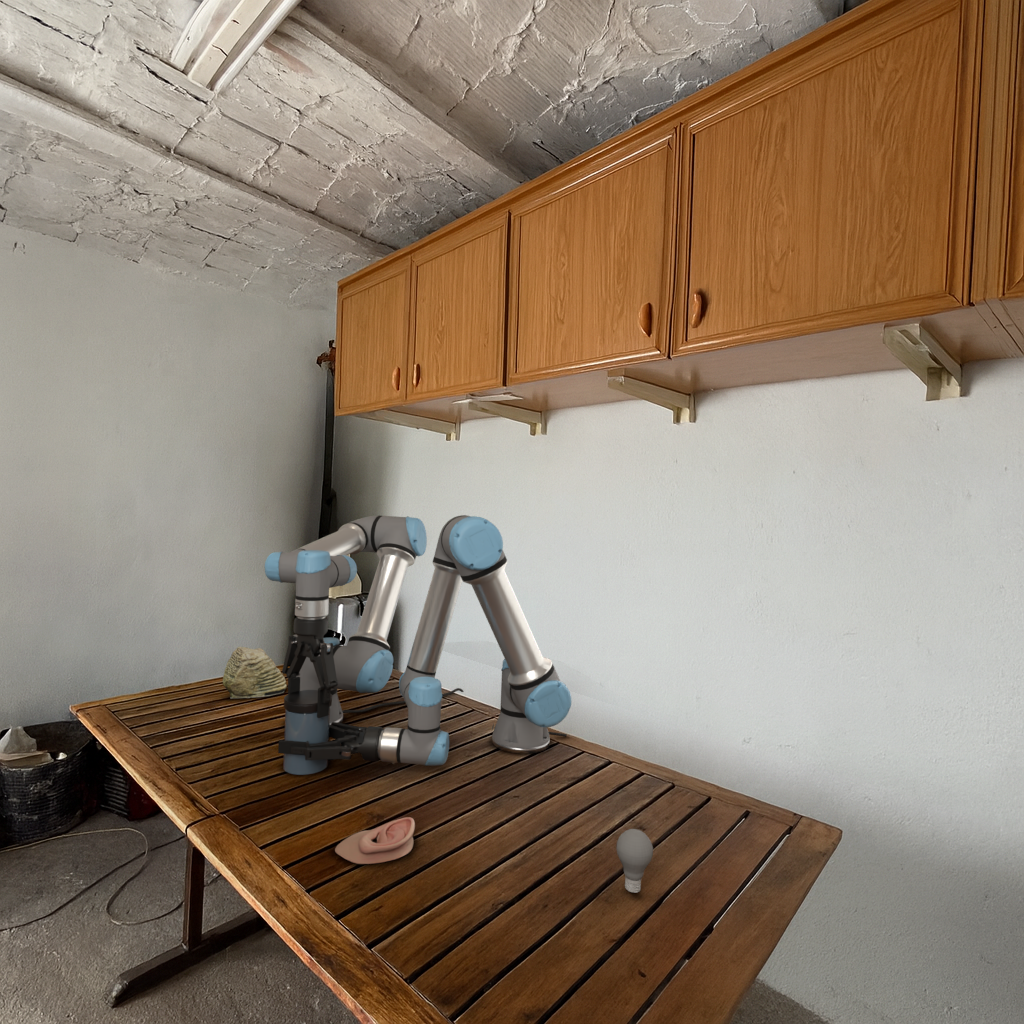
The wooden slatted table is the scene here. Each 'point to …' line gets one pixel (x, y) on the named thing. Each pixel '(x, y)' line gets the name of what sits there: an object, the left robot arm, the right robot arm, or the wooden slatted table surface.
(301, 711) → the lid
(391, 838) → the anatomical model
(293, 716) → the jar
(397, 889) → the wooden slatted table surface
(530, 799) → the wooden slatted table surface
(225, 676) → the fossil
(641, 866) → the light bulb
